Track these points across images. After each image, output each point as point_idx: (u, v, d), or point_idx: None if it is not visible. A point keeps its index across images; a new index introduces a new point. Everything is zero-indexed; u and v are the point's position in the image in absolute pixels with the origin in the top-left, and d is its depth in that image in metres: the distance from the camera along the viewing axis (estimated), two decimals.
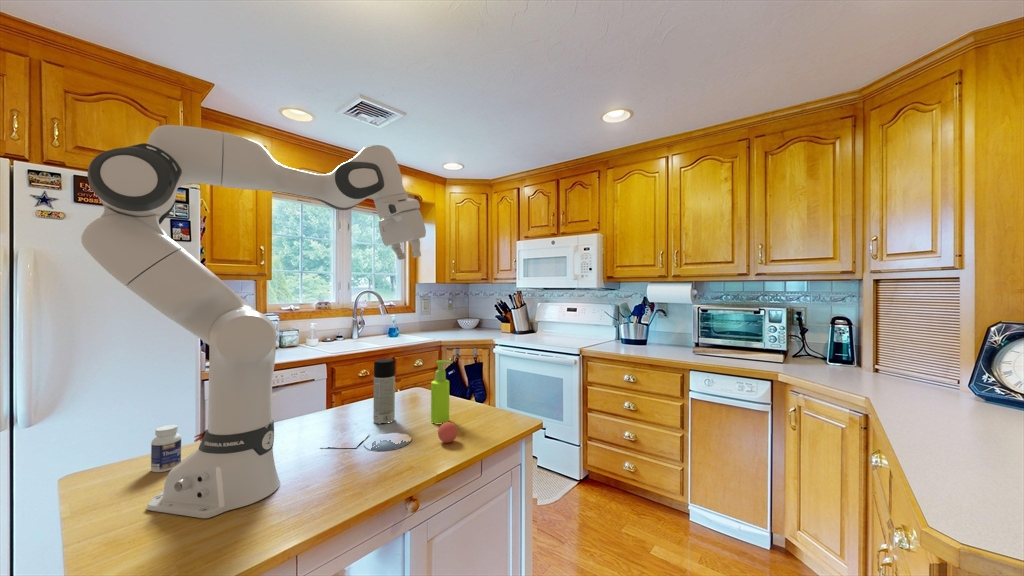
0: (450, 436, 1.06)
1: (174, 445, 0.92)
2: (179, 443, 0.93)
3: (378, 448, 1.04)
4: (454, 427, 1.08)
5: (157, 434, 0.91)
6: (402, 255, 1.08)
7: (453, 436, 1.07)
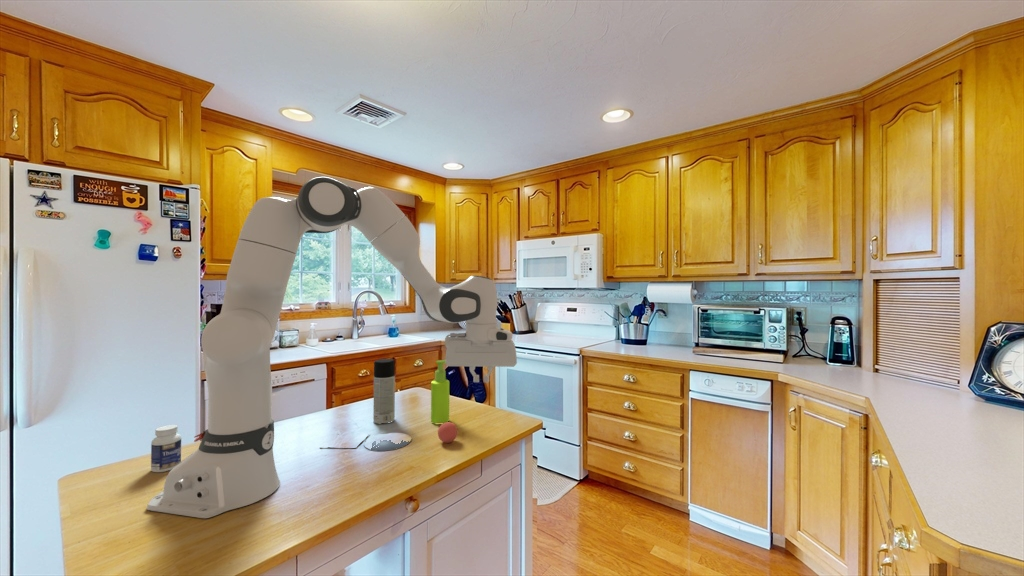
0: (450, 436, 1.06)
1: (174, 445, 0.92)
2: (179, 443, 0.93)
3: (378, 448, 1.04)
4: (454, 427, 1.08)
5: (157, 434, 0.91)
6: None
7: (453, 436, 1.07)
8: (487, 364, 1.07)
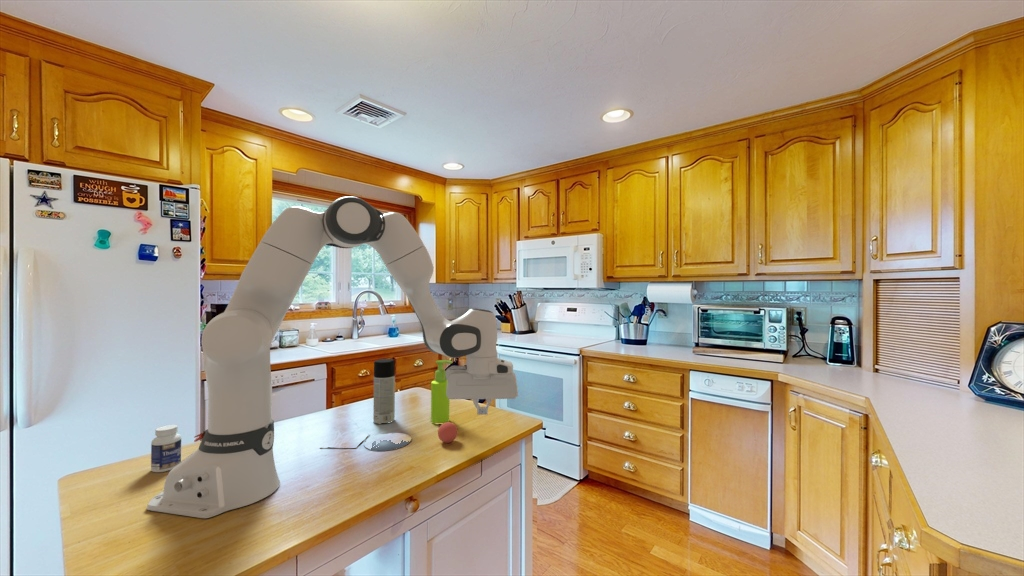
0: (450, 436, 1.06)
1: (174, 445, 0.92)
2: (179, 443, 0.93)
3: (378, 448, 1.04)
4: (454, 427, 1.08)
5: (157, 434, 0.91)
6: None
7: (453, 436, 1.07)
8: (488, 397, 1.07)
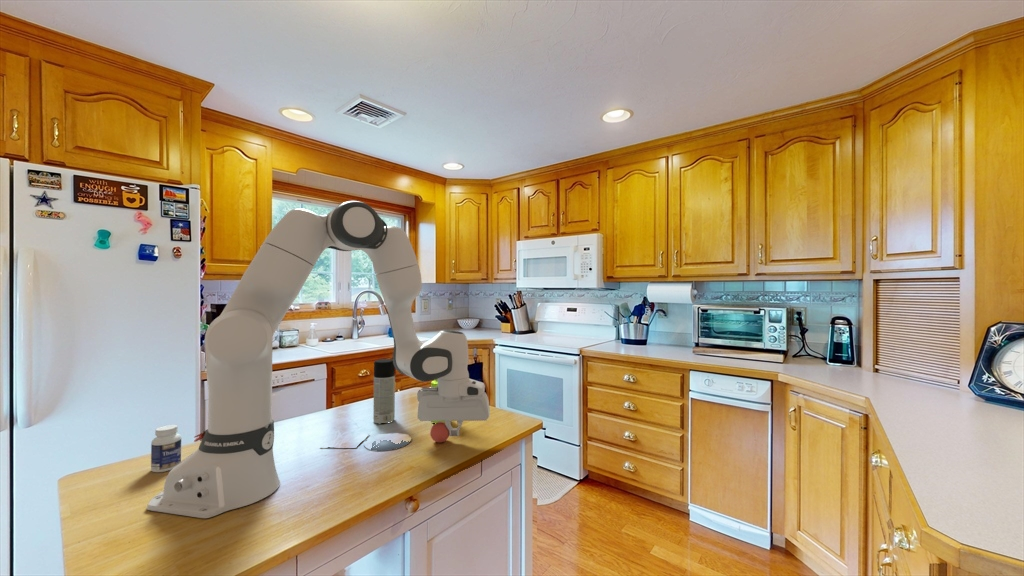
0: (443, 434, 1.07)
1: (174, 445, 0.92)
2: (179, 443, 0.93)
3: (378, 448, 1.04)
4: (442, 424, 1.08)
5: (157, 434, 0.91)
6: None
7: (445, 432, 1.07)
8: (459, 418, 1.07)
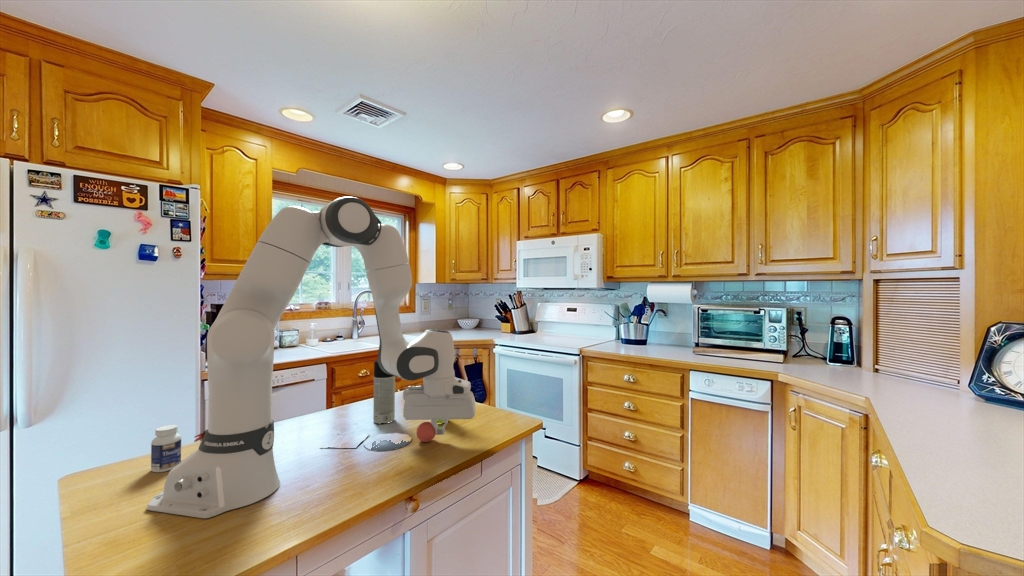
0: (427, 430, 1.07)
1: (174, 445, 0.92)
2: (179, 443, 0.93)
3: (378, 448, 1.04)
4: (422, 423, 1.09)
5: (157, 434, 0.91)
6: None
7: (428, 427, 1.08)
8: (445, 417, 1.07)
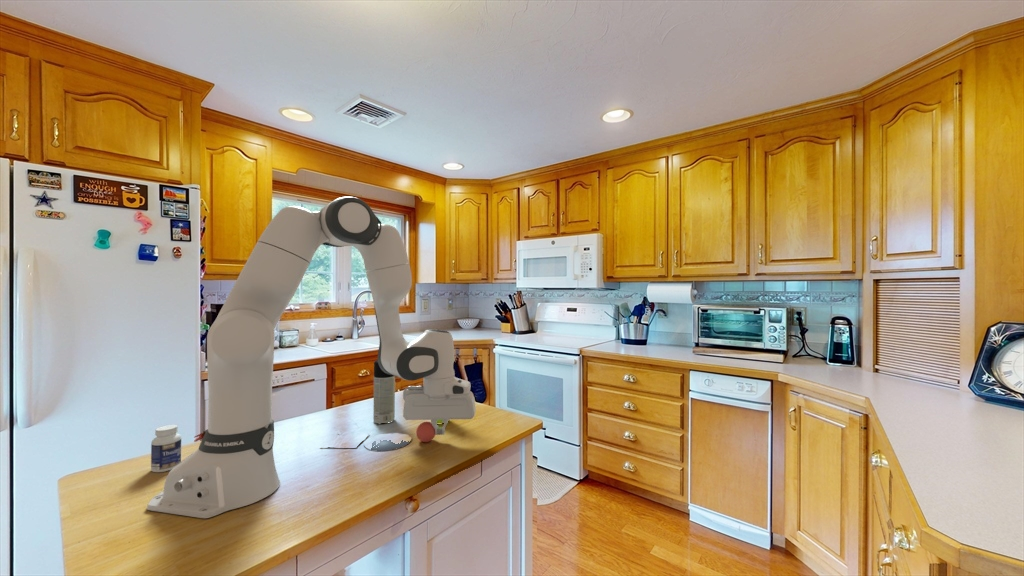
0: (427, 430, 1.07)
1: (174, 445, 0.92)
2: (179, 443, 0.93)
3: (378, 448, 1.04)
4: (422, 423, 1.09)
5: (157, 434, 0.91)
6: None
7: (428, 427, 1.08)
8: (445, 417, 1.07)
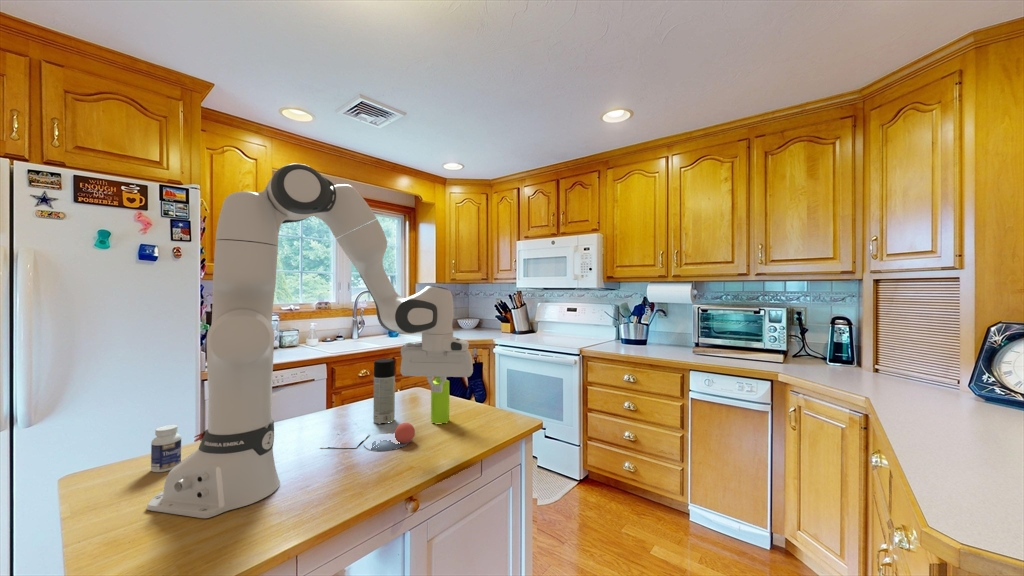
0: (399, 437, 1.06)
1: (174, 445, 0.92)
2: (179, 443, 0.93)
3: (378, 448, 1.04)
4: None
5: (157, 434, 0.91)
6: None
7: (396, 437, 1.06)
8: (442, 374, 1.07)
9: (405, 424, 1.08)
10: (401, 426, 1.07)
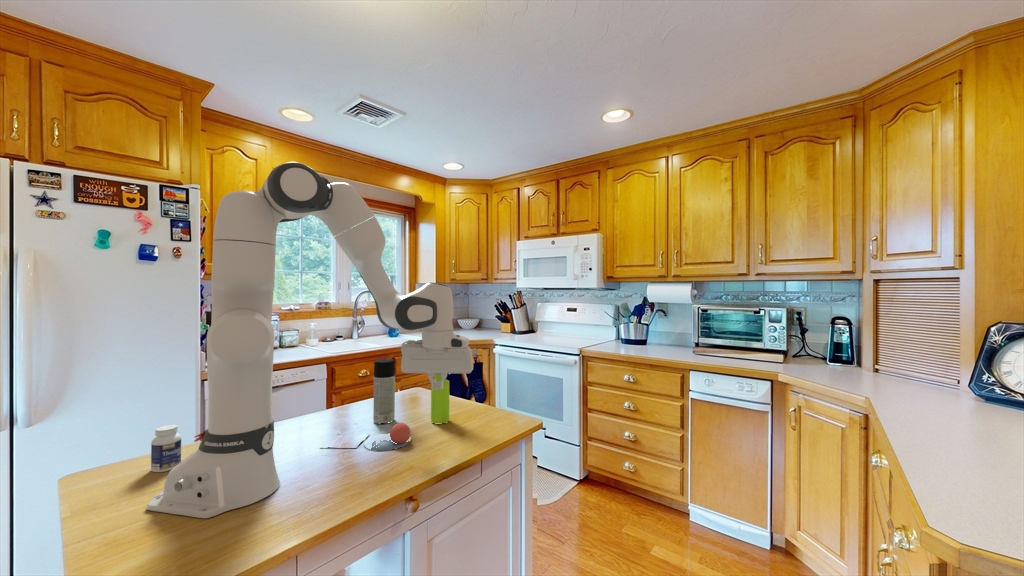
0: (395, 440, 1.05)
1: (174, 445, 0.92)
2: (179, 443, 0.93)
3: (378, 448, 1.04)
4: None
5: (157, 434, 0.91)
6: None
7: (393, 440, 1.06)
8: (443, 371, 1.07)
9: (396, 425, 1.07)
10: (393, 429, 1.06)
